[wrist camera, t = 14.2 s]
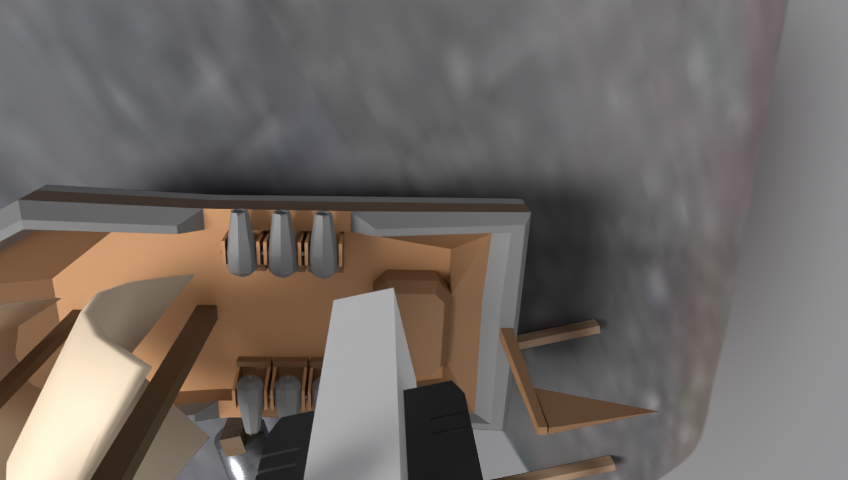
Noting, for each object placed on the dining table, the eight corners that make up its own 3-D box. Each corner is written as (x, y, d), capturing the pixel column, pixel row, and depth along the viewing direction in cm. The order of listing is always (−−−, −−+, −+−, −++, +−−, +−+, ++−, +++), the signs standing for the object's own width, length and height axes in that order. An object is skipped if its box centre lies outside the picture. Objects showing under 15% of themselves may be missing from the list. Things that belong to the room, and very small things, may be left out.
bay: (392, 505, 59) (392, 518, 57) (353, 369, 53) (352, 379, 52) (610, 461, 58) (616, 472, 57) (594, 319, 53) (600, 327, 51)
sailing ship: (-36, 152, 45) (-579, 345, 20) (575, 173, 48) (787, 360, 23) (6, 349, 51) (-372, 696, 25) (549, 355, 54) (697, 666, 29)
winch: (268, 501, 58) (253, 565, 51) (225, 389, 53) (203, 443, 46) (310, 493, 57) (300, 555, 51) (271, 380, 53) (255, 432, 46)
